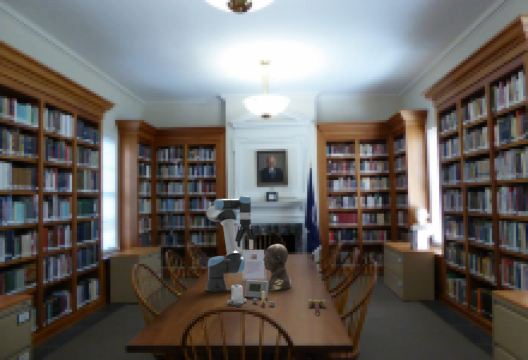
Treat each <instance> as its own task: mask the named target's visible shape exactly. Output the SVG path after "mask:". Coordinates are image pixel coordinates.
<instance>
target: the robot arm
mask: <svg viewBox="0 0 528 360" xmlns="http://www.w3.org/2000/svg"><path fill="white" fill-rule="evenodd" d="M213 203H214V205H213V206H209V207H208V208H206V210H205V216H206V218H207V219H208V220H210V221H211V222H215V223H216V222H218V223H220V225H222V228H223V233H224V241H225V248H226V255H225V256H224V255H217V256H213V257H211V258H209V259H208V263H207V266H208V267H207V271H208V272H207V273H208V278H207V281H206V286H205V290H206V291H207V292H212V293H217V292H219V293H220V292H225V291H227V290H228V286H227V283H226V279H225V275H231V274H233V275H234V274H241V273H243V272H244V269H245V264H246V263H245V262H246V261H245V257H243V256H242V254H241V253H243V252H242V251H243V248H242V247H243V245H242V244H243V243H242V239H243V237H244V235H245V234H247V236H248V238H249V240H248V241H249V242H248V243H249V246H248V247H249V250H254V241H255V239H256V235H255V233H254V232H255V231H254V229H253V225H251V224H252V220H251V219H252V218H251V217H252V213H251V212H252V199H251V196H250V195H241V196H239V198H218V199H217V198H216V199H215V200H214V201H213ZM237 211H239V225H240V226H238V227H237V233H236V230H235V223H236V221H237V220H238V212H237Z"/></svg>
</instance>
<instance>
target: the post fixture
mask: <svg viewBox="0 0 528 360" xmlns="http://www.w3.org/2000/svg"><path fill="white" fill-rule="evenodd" d="M260 299H261V302H260V303H261V305H262V306H265V305H266V298H265V291H261V298H252V304H256V303H257V301H259V300H260ZM267 303H268V304H271V307H275V300H274V301H273V300H268V301H267Z"/></svg>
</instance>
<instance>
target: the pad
mask: <svg viewBox="0 0 528 360" xmlns="http://www.w3.org/2000/svg"><path fill="white" fill-rule="evenodd" d="M246 303H247V301H245V302H243V303H238V304H233V303H227V304H228V305H233V306H237V307H238V306H241V305H244V304H246Z"/></svg>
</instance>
